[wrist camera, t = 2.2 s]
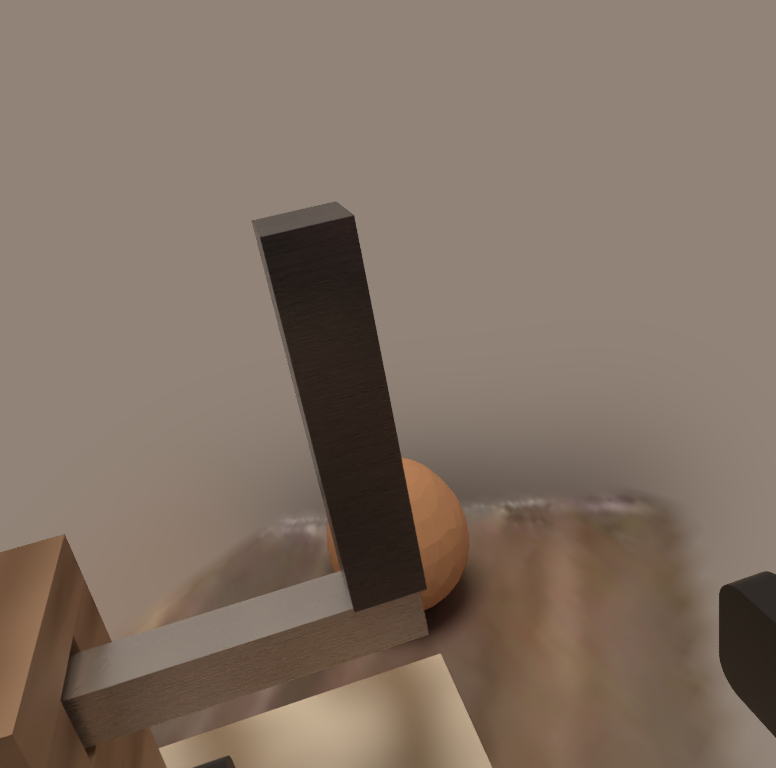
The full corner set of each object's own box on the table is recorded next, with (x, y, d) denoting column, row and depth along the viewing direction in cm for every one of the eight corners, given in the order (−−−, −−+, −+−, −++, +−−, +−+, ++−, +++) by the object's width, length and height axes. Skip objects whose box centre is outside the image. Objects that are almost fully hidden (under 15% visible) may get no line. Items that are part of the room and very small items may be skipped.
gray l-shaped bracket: (-194, 846, 21) (-529, 419, 15) (-160, 775, 23) (-442, 378, 18) (436, 636, 24) (353, 215, 18) (415, 591, 26) (336, 201, 21)
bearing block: (-161, 1242, 21) (-493, 955, 15) (-43, 844, 31) (-209, 588, 26) (562, 942, 24) (518, 616, 18) (445, 677, 35) (394, 419, 29)
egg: (333, 577, 43) (300, 451, 39) (452, 540, 44) (430, 415, 41) (359, 667, 36) (322, 525, 33) (498, 621, 38) (477, 480, 34)
